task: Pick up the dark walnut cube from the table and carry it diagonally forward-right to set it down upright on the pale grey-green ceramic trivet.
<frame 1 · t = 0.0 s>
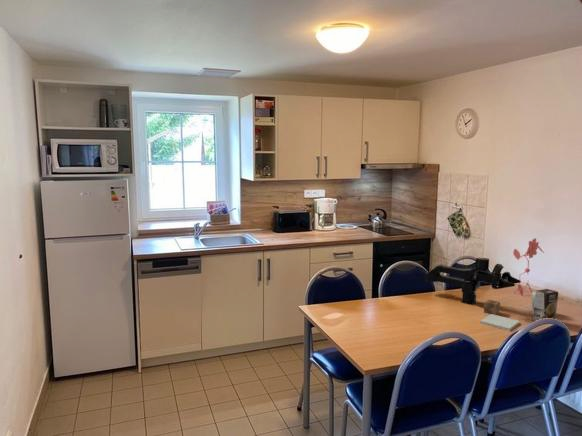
hand: (517, 283, 238), 17 cm above the table, tool horizontal, fingers open, 9 cm apart
trivet: (499, 323, 226), on the table
red branching piece: (529, 295, 273), on the table
cube: (491, 312, 241), on the table
coffee box: (544, 321, 229), on the table
small box: (538, 313, 242), on the table
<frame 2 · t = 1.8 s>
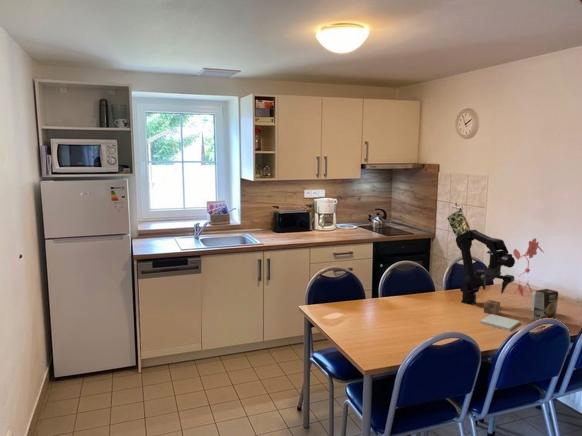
hand: (493, 291, 240), 12 cm above the table, tool pointing down, fingers open, 9 cm apart
nothing on the table moved.
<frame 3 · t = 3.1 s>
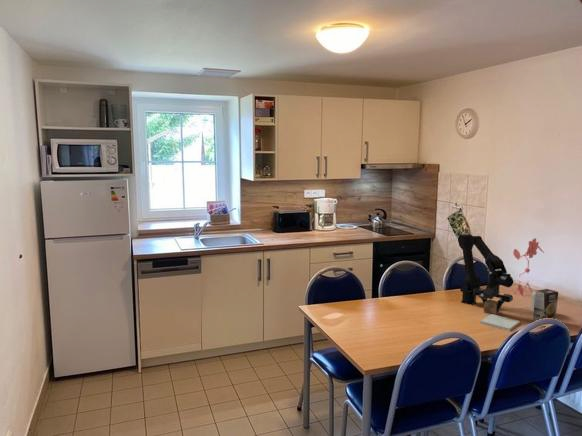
hand: (491, 310, 241), 1 cm above the table, tool pointing down, fingers closed on cube, 6 cm apart
cube: (491, 312, 241), on the table, touching gripper
everything else where it was.
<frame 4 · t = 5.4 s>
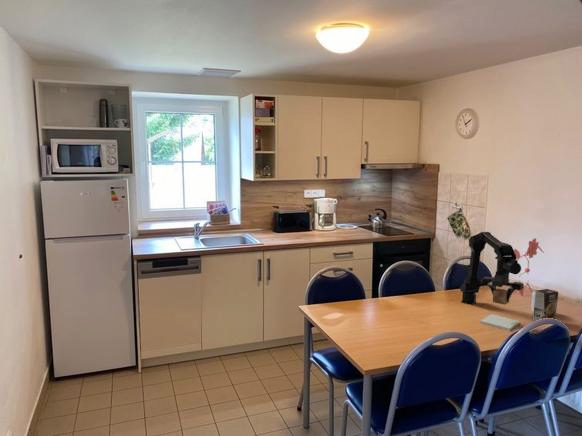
hand: (501, 299, 226), 12 cm above the table, tool pointing down, fingers closed on cube, 6 cm apart
cube: (500, 302, 226), point 10 cm above the table, touching gripper
everything else where it was.
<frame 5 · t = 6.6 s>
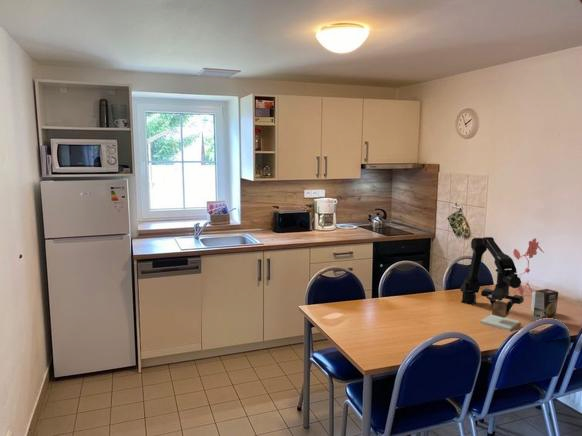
hand: (500, 312, 225), 6 cm above the table, tool pointing down, fingers closed on cube, 6 cm apart
cube: (500, 314, 225), point 4 cm above the table, touching gripper
everything else where it was.
when the fingers open (3 cm above the table, at t = 7.5 s): cube stays where it is, resting on trivet.
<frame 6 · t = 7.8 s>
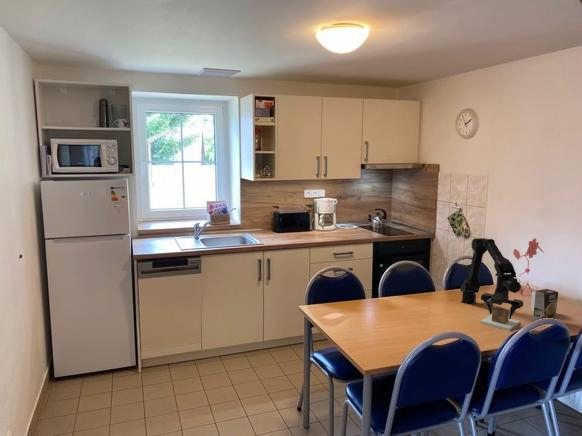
hand: (500, 316, 225), 3 cm above the table, tool pointing down, fingers open, 9 cm apart
cube: (500, 320, 226), point 1 cm above the table, touching trivet
everything else where it was.
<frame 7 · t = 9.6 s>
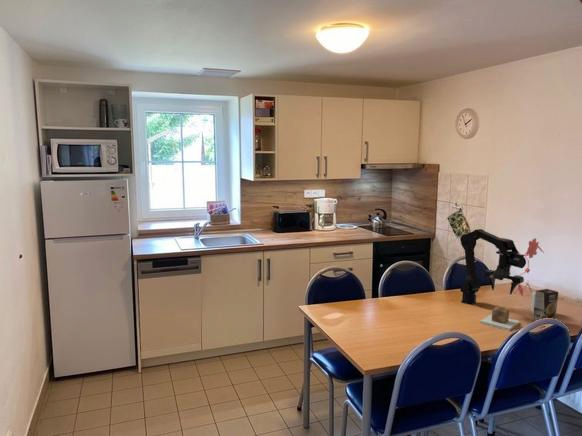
hand: (501, 292, 237), 12 cm above the table, tool pointing down, fingers open, 9 cm apart
nothing on the table moved.
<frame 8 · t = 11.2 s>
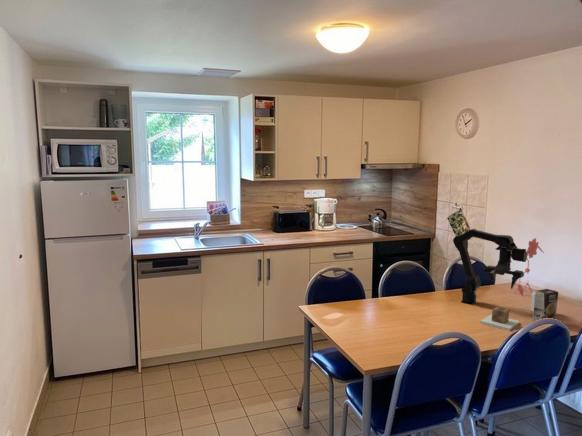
hand: (502, 286, 244), 13 cm above the table, tool pointing down, fingers open, 9 cm apart
nothing on the table moved.
at the end: cube inside the target area (0.1 cm from its centre), point 1.2 cm above the table; cube tilted 0°; the gripper is holding nothing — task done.
